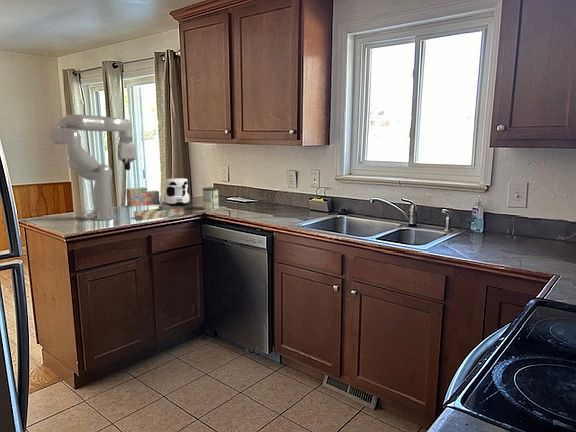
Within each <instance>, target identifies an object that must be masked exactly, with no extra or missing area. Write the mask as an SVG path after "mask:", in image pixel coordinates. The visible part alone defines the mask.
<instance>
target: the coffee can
mask: <svg viewBox="0 0 576 432" xmlns="http://www.w3.org/2000/svg"><path fill="white" fill-rule="evenodd" d="M202 204H203V205H202V206H203V210H204V211H217V210H216V209H218V210H219V209H220V207H219V205H220V204H219V188H218V187H216V186H215V187H213V186H211V187H203V188H202Z"/></svg>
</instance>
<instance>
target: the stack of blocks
mask: <svg viewBox="0 0 576 432" xmlns="http://www.w3.org/2000/svg"><path fill="white" fill-rule="evenodd" d="M125 190H126V204H127V205H126V206H127V207H130V208H132V207H133V206H135V207H144V206H152V205H160V203H161V202H160V191H158V190H148V188H147V187H131V188H126V189H125Z"/></svg>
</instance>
